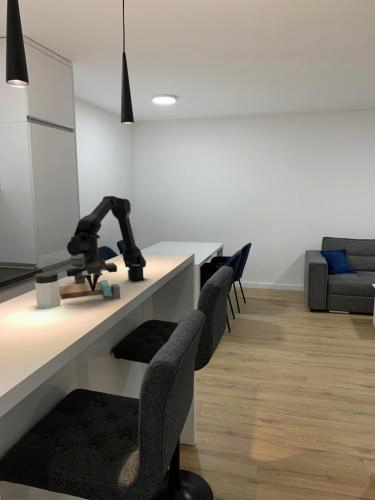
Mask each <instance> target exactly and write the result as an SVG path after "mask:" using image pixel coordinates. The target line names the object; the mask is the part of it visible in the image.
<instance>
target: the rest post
mask: <svg viewBox="0 0 375 500" xmlns="http://www.w3.org/2000/svg"><path fill="white" fill-rule="evenodd" d="M110 287H111V295H110V296H111V297H112V298H113V300H115V299H116V300H117V299H121V289H120V288H121V287H120V286H119V284H117V283H114V284H110Z"/></svg>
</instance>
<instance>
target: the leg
mask: <svg viewBox="0 0 375 500" xmlns="http://www.w3.org/2000/svg"><path fill="white" fill-rule="evenodd" d="M100 282H101V287H102V290H103V293H104V294H103V295H104V296H105V297H106V296H112V295H111V288H110V287H111V285H110V284H109V282H108V279H107V280H106V279H103V280H100Z"/></svg>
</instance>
